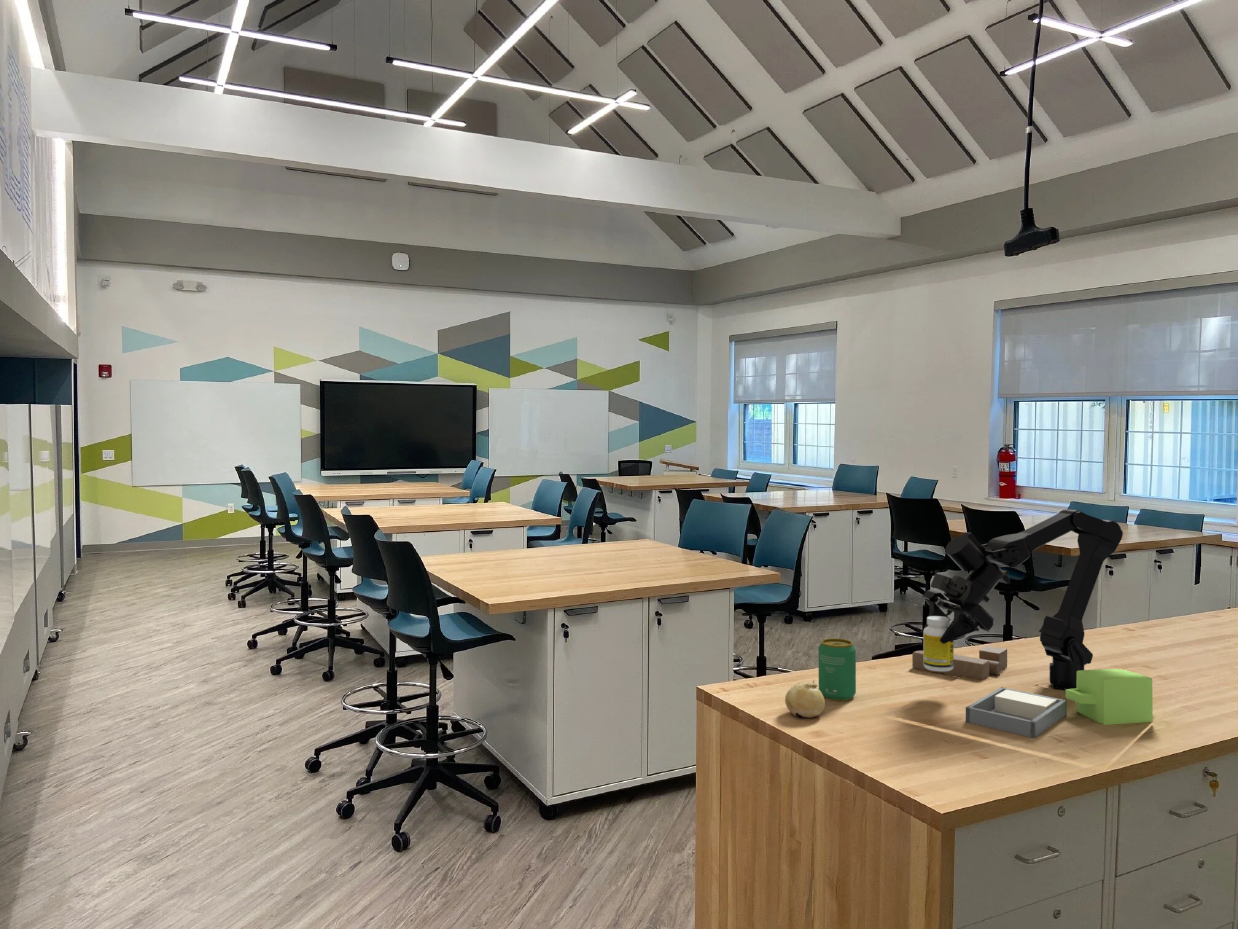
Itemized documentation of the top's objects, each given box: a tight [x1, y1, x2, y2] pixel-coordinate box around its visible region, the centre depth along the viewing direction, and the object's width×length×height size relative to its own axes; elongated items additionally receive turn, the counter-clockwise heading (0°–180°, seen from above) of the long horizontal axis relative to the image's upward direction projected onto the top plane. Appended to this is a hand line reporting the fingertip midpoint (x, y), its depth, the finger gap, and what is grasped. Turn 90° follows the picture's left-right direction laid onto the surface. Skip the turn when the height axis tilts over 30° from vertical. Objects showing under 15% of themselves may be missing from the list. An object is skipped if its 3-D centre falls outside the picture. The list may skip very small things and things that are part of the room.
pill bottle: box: [922, 615, 955, 671], centre depth 186 cm, size 6×6×11 cm
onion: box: [784, 680, 826, 718], centre depth 177 cm, size 8×8×7 cm
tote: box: [965, 686, 1068, 739], centre depth 172 cm, size 18×13×4 cm
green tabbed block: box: [1064, 668, 1154, 726], centre depth 174 cm, size 18×10×10 cm, turn 99°
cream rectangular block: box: [995, 690, 1057, 719], centre depth 175 cm, size 6×10×3 cm, turn 45°
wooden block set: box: [911, 645, 1008, 680], centre depth 210 cm, size 17×6×18 cm
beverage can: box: [818, 638, 857, 702], centre depth 189 cm, size 8×8×12 cm
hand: (932, 638), depth 186 cm, fingers closed on pill bottle, 6 cm apart
